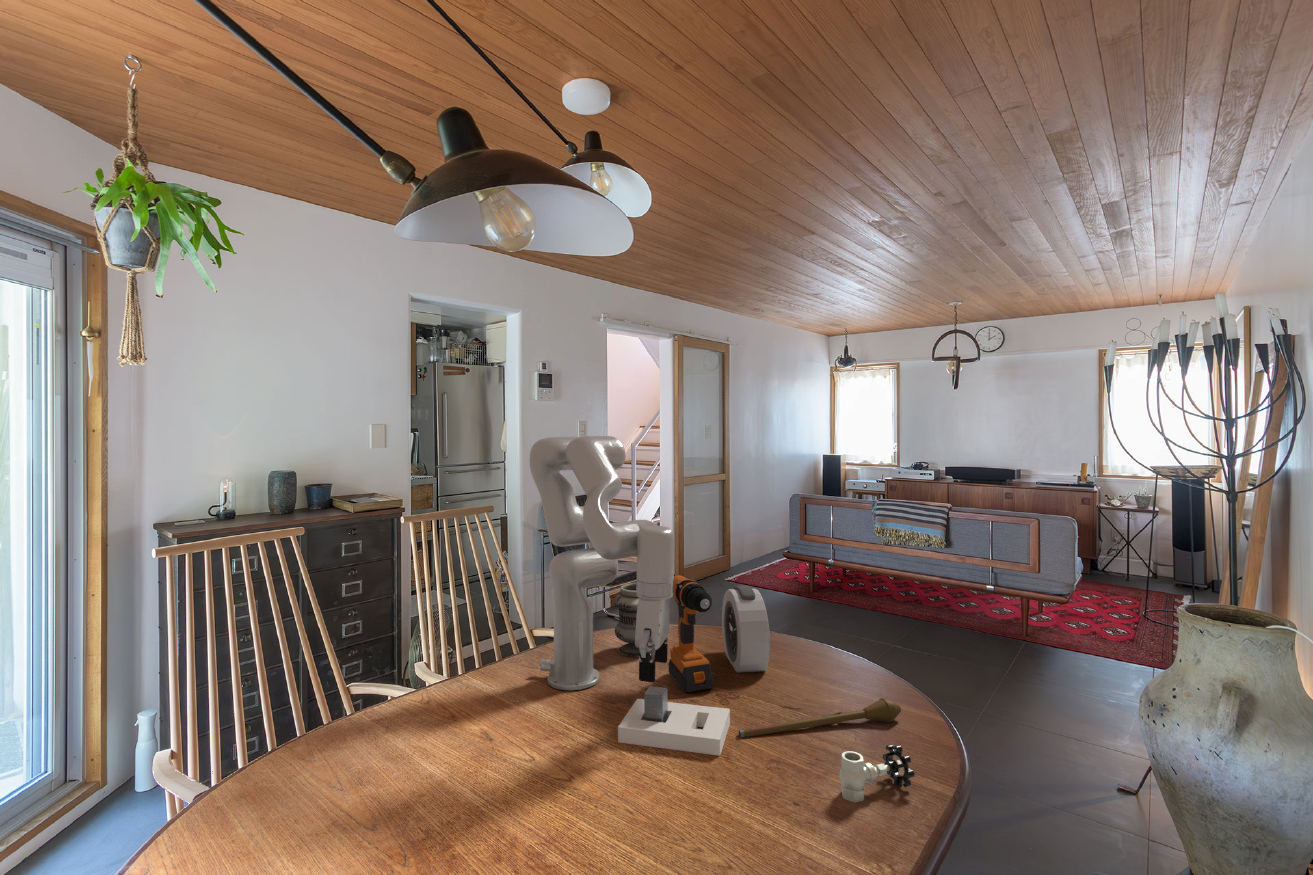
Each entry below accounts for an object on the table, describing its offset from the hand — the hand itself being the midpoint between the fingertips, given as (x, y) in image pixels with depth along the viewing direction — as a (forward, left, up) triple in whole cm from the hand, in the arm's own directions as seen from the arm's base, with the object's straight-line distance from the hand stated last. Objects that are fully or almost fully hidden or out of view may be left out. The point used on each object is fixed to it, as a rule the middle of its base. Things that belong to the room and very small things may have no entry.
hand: (653, 670), depth 122 cm
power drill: (+4, +23, -12) cm, 26 cm away
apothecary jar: (-16, +42, -12) cm, 46 cm away
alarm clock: (+14, +41, -12) cm, 44 cm away
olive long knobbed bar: (+33, +9, -12) cm, 36 cm away
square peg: (+1, -1, -12) cm, 12 cm away
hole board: (+5, 0, -12) cm, 13 cm away
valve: (+41, -12, -12) cm, 44 cm away
